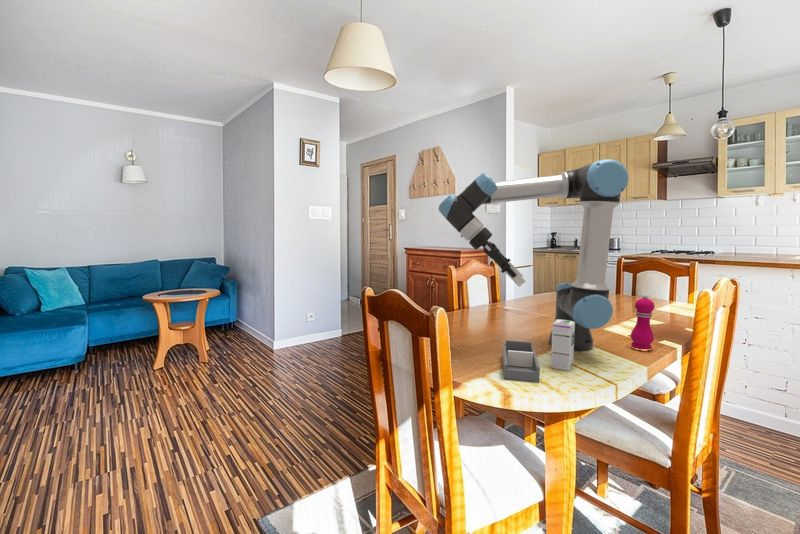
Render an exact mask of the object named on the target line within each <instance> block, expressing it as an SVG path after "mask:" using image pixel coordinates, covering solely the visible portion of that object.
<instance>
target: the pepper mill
mask: <svg viewBox="0 0 800 534" xmlns="http://www.w3.org/2000/svg"><path fill="white" fill-rule="evenodd" d="M634 308H635V310H636V311H635V316H636V323H635V326H634V327H633V329H632V330H631V333H630V339H631V341H632V342H631V346H632V347H634V348H638V349H651V348H653V347H652V343H653V342H654V340H655V336H654V332H653V329H652V327H651V318H652V317H653V316H652V315H653V311H654V309H655V303H654V301H653V300H651V299H649V295H648V294H646V293H644V294H642V298H639V299H637V300H636V301H635V303H634ZM651 350H652V349H651Z"/></svg>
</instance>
